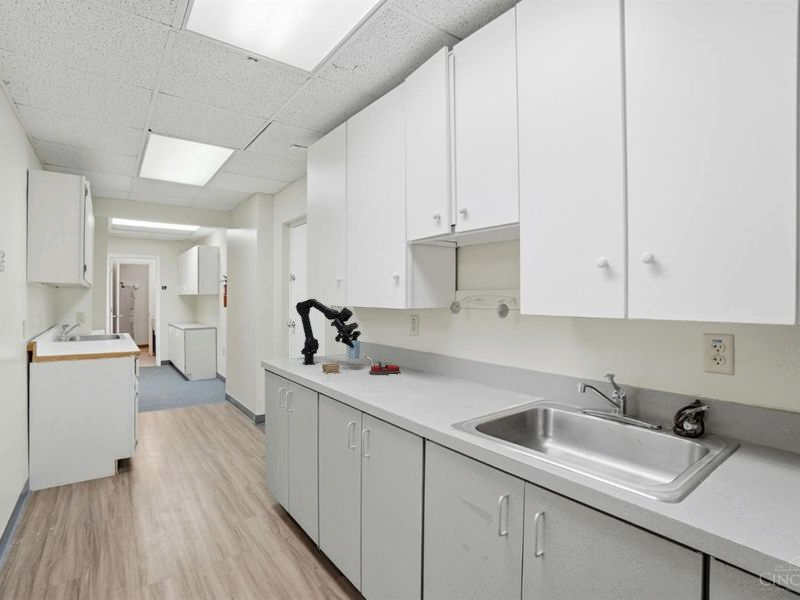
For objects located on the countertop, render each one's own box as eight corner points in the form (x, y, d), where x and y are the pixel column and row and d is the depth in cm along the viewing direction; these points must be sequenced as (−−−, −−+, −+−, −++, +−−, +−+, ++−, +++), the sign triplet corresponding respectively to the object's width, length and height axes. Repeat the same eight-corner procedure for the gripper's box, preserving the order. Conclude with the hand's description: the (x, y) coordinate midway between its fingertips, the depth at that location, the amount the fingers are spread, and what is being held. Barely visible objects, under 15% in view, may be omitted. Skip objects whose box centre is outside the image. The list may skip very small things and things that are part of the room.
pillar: (348, 358, 244) (349, 341, 244) (353, 357, 248) (353, 340, 248) (354, 359, 242) (355, 341, 242) (359, 358, 246) (359, 341, 246)
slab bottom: (322, 372, 237) (323, 368, 237) (334, 371, 240) (335, 367, 240) (326, 374, 231) (326, 370, 231) (338, 374, 234) (338, 369, 234)
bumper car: (402, 375, 234) (402, 356, 234) (367, 376, 228) (367, 357, 228) (397, 372, 244) (397, 354, 244) (363, 373, 238) (363, 355, 238)
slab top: (322, 368, 236) (322, 364, 236) (333, 367, 240) (333, 363, 240) (328, 370, 231) (328, 365, 231) (339, 369, 235) (339, 364, 235)
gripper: (339, 318, 239) (355, 339, 233) (358, 317, 255) (373, 337, 250) (328, 331, 243) (343, 352, 237) (348, 329, 259) (362, 349, 254)
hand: (356, 347), depth 244 cm, fingers closed on pillar, 4 cm apart
